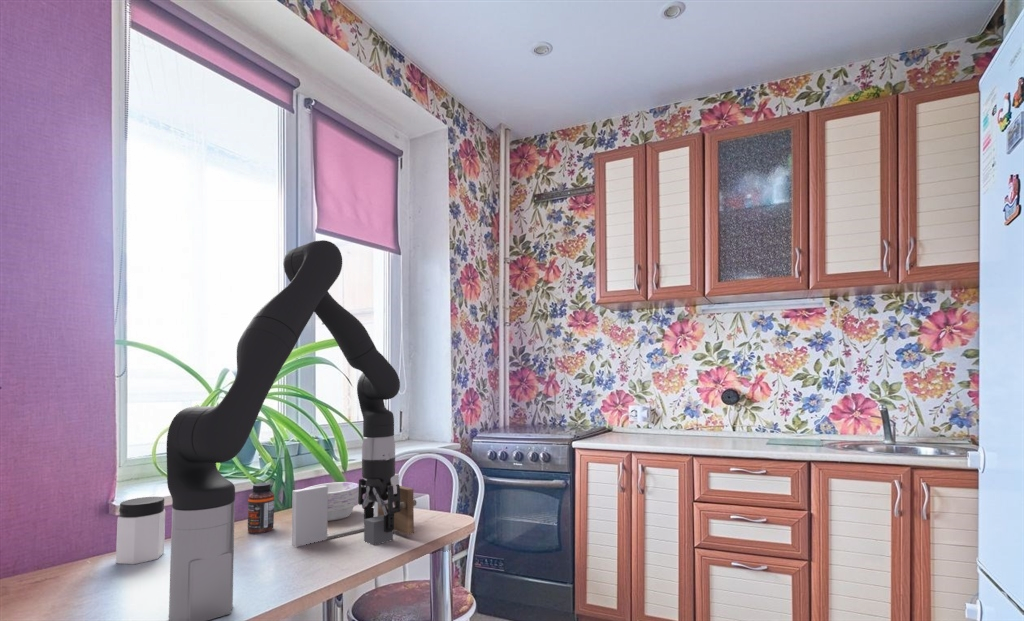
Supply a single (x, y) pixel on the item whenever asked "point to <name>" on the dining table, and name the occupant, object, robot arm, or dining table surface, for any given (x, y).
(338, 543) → the dining table surface
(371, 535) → the block
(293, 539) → the wall frame
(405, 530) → the door
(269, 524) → the supplement bottle
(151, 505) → the jar
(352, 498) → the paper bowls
